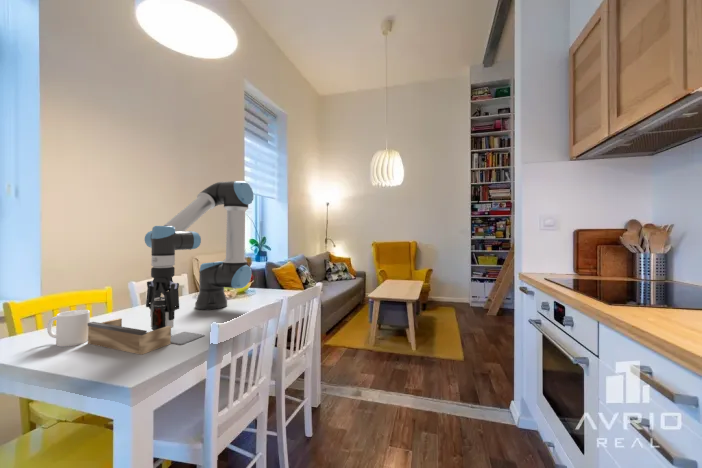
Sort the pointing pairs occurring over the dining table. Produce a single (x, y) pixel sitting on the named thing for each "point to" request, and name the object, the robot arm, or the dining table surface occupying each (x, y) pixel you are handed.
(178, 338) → the mat
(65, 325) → the cup
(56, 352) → the dining table surface
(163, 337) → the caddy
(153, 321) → the beverage can
